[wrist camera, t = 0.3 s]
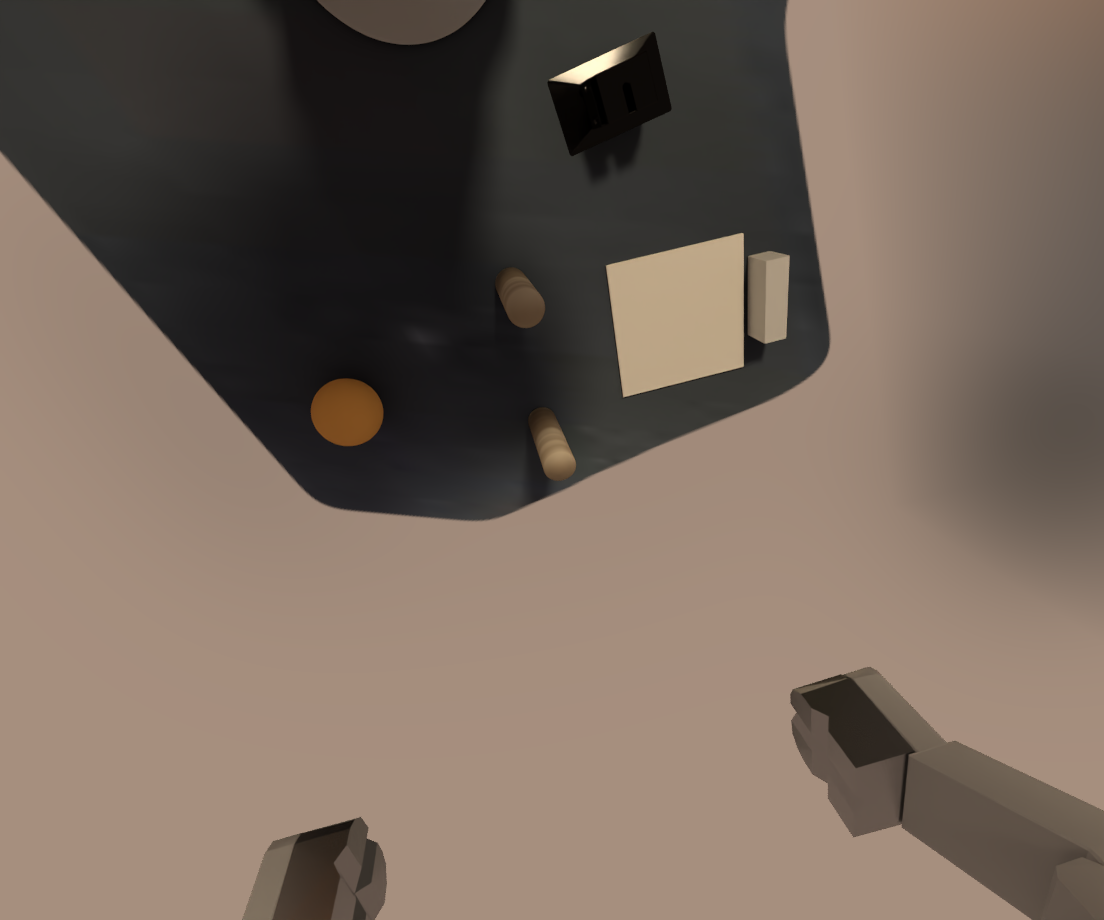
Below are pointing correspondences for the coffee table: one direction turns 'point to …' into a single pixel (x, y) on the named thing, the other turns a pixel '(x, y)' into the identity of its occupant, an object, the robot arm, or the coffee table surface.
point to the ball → (347, 412)
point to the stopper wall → (768, 296)
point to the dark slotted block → (610, 94)
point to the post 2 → (551, 444)
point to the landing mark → (678, 314)
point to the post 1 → (519, 298)
